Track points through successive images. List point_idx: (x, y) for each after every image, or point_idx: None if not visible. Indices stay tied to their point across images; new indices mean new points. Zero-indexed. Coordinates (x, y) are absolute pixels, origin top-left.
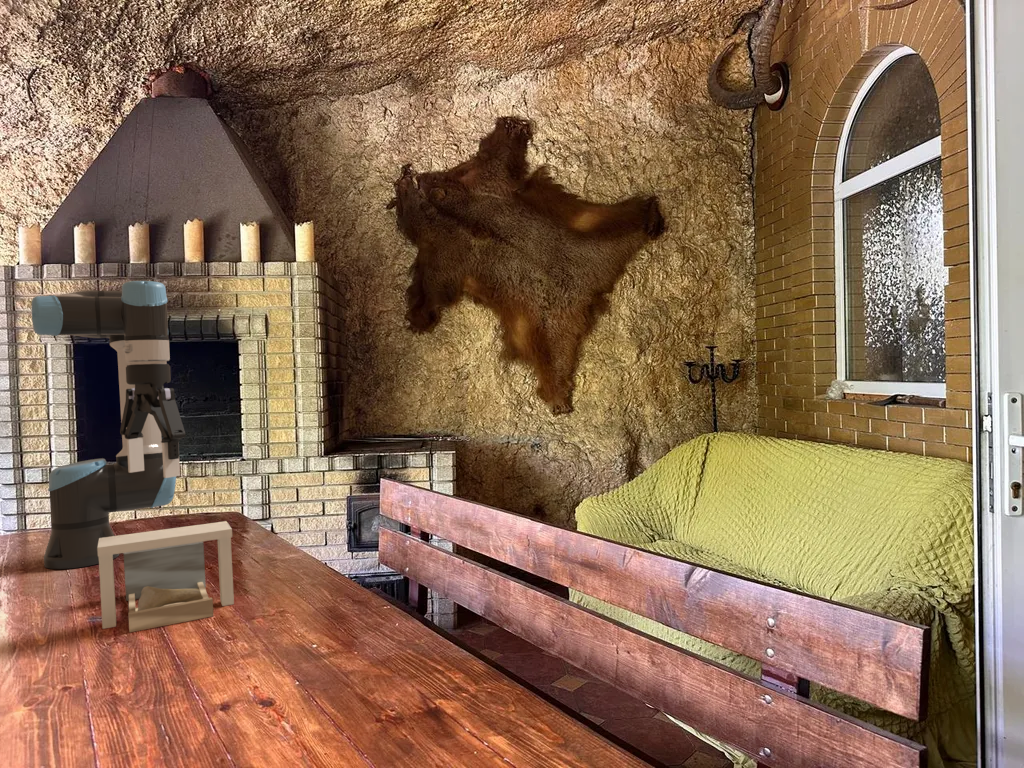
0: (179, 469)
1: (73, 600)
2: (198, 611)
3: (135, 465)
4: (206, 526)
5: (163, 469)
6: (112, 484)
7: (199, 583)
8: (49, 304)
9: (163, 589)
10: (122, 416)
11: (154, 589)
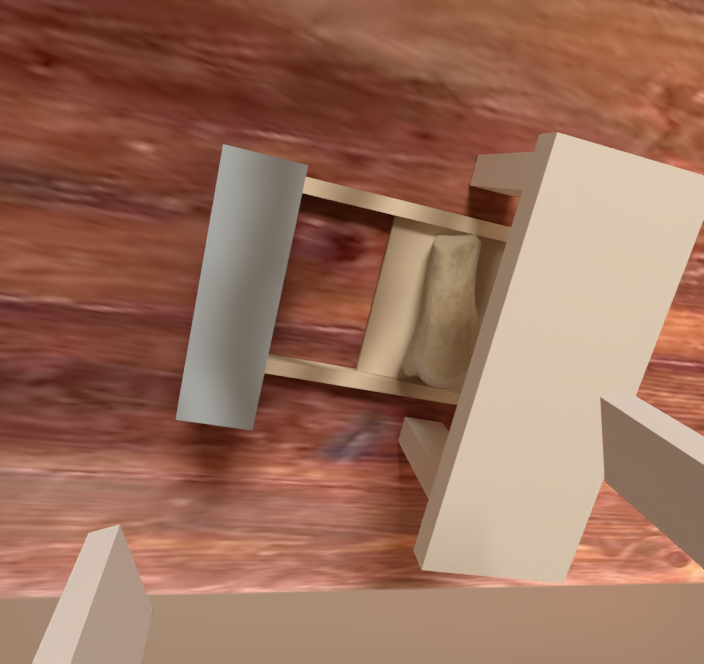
0: (656, 410)
1: (129, 473)
2: None
3: (131, 615)
4: (581, 237)
5: (642, 511)
6: None
7: (306, 188)
8: None
9: (455, 336)
10: None
11: (463, 362)
